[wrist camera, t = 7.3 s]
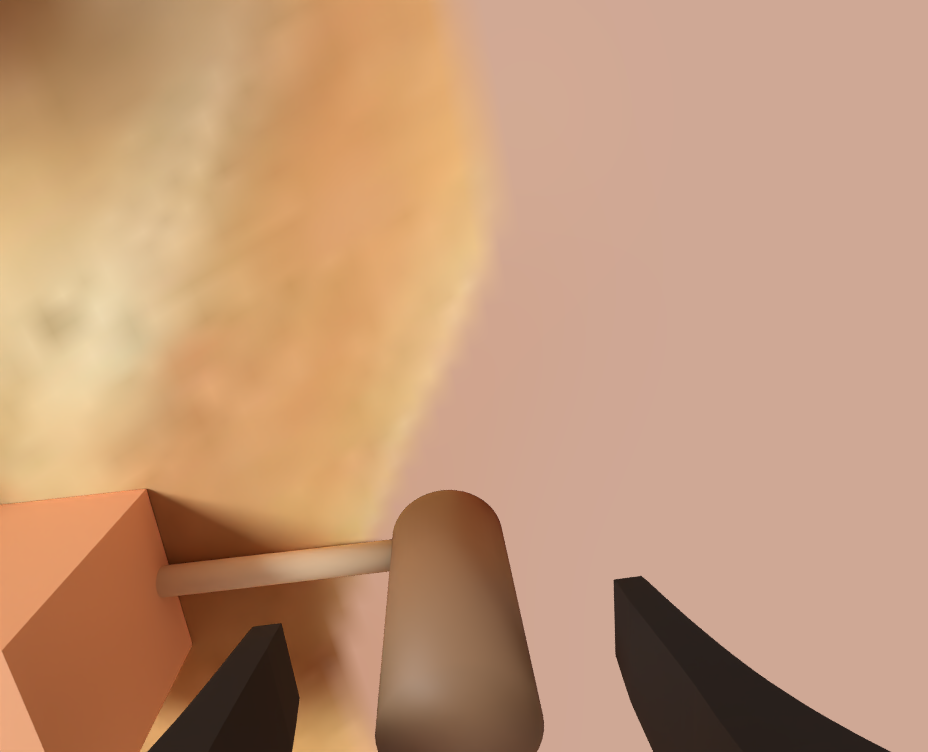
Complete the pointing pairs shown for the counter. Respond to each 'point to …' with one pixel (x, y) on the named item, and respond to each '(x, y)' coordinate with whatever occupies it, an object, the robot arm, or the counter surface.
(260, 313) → the counter surface
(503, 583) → the tethered block
